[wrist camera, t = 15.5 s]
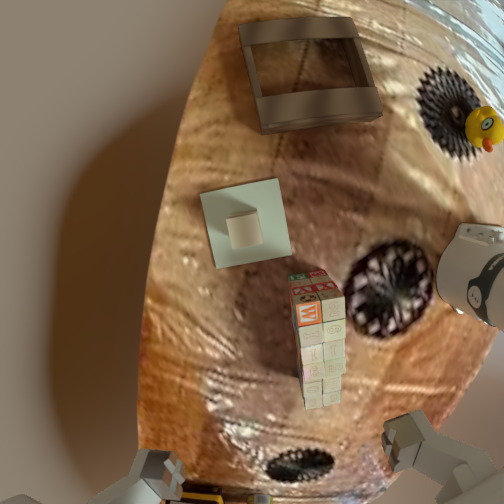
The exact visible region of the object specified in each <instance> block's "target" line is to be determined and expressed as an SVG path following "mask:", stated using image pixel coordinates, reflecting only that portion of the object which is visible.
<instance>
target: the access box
mask: <svg viewBox="0 0 504 504" xmlns="http://www.w3.org/2000/svg"><path fill="white" fill-rule="evenodd" d="M238 30H239V38H240V42H241V46H242V50H243V54H244V59H245V63H246V67H247V71H248V75H249V80H250V84H251V88H252V92H253V97H254V101H255V106H256V110H257V115H258V119H259V124H260V128H261V133H262V135H267V134H272V133H278V132H285V131H291V130H298V129H305V128H312V127H320V126H329V125H338V124H349V123H361V122H371V121H373V120H375V119H377V118H379V117H381V116H383V114H382V112H383V109H382V105H381V101H380V98H379V94H378V91H377V87H375V84H374V81H373V78H372V75H371V71H370V68H369V65H368V62H367V59H366V56H365V54H364V51H363V48H362V45H361V42H360V40H359V38H360V37H359V34H358V32H357V29H356V27H355V24H354V22H353V19H352V18H351V17H302V18H287V19H277V20H268V21H260V22H253V23H246V24H240V25H238ZM323 38H340V39H341V41H342V44H343V47H344V50H345V53H346V56H347V59H348V62H349V65H350V68H351V71H352V74H353V78H354V81H355V85H356V87H355V88H336V89H323V90H313V91H303V92H295V93H287V94H280V95H273V96H267V97H263V96H262V92H261V87H260V83H259V79H258V75H257V71H256V67H255V63H254V59H253V55H252V51H251V47H250V46H252V45H259V44H266V43H274V42H282V41H292V40H304V39H323Z"/></svg>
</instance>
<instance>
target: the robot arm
mask: <svg viewBox="0 0 504 504" xmlns="http://www.w3.org/2000/svg"><path fill="white" fill-rule="evenodd" d="M467 229H468V231H467ZM436 282H437V289H438V292H439V295H440V296H441V298H442V299H443V300H444V301H445V302H447V303H449V304H451V305H452V306H453V308H454V310H455V311H456V312H457V313H459V314H462V313H466V314H468V315H469V316H471V317H473V318H475V319H477V320H483V322H485V323H486V324H489V325H490V326H493V327H497V328H499V329H500V330H502V331H503V332H504V228H503V227H501V226H491V225H480V224H468V223H461V224H460V225H459V227H458V229H457V231H456V234H455V237H454V238H453V240H452V241H451V242H450V244H449V245H448V246H447V247H446V249H445V251H444V252H443V254H442V256H441V259H440V262H439V265H438V269H437V277H436ZM383 428H384V430H385V431H384V432H383V433H382V438H381V440H382V447H383V450H384V453H385V454H386V455H388V456H389V460H388V463H389V465H390V467H391V470H392V472H393V473H396V472H399V471H402V470H405V469H407V468H410V467H413V468H415V469H416V470H417V471H419V472H421V473H423V474H424V475H426V476H427V477H429V478H431V479H432V480H434V481H436V482H437V483H439V484H441V485H443V487H442V488H441V490H440V491H439V493H438V495H437V496H436V498H435V499H436V502H437V504H504V467H502V468H501V469H500V470H497V469H496V467H495V465H494V464H493V462H492V461H491V459H490V458H489V456H488V455H487V453H486V452H485V450H482V449H480V448H477V447H474V446H471V445H468V444H466V443H463V442H461V441H458V440H455V439H453V438H450V437H448V436H445V435H442V434H439V435H437V433H436V432H435V430H434V428H433V427H432V425H431V424H430V422H429V421H428V419H427V417H426V416H425V414H424V413H423V411H422V410H421V409H417V410H415V411H412V412H410V413H406V414H404V415H401V416H398V417H396V418H393V419H390V420H387V421H385V422H384V425H383ZM185 478H186V468H185V465H184V464H183V462H182V461H180V460H178V455H177V453H176V452H175V451H163V450H152V449H140V450H139V451H138V453H137V455H136V457H135V460H134V462H133V465H132V468H131V470H130V473H129V474H128V476H124V477H122V478H121V479H119V480H118V481H117V482H115V483H114V484H113V485H111V486H109V487H108V488H107V489H105V490H103V491H102V492H100V493H99V494H97V495H96V496H94V497H92V498H91V499H89V501H88V503H87V504H158V503H159V502H160V501H161V500H162V499H167V500H179V501H180V500H181V496H182V491H183V488H182V486H181V484H182V483H183V482H184V481H185ZM0 504H42V503H40V502H38V501H36V500H35V499H33V498H31V497H29V496H27V495H24V494H20V495H16V496H14V497H11V498H8V499H6V500H3V501H1V502H0Z"/></svg>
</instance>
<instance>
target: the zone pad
mask: <svg viewBox="0 0 504 504" xmlns="http://www.w3.org/2000/svg"><path fill="white" fill-rule="evenodd" d="M200 197H201V202H202V207H203V211H204V216H205V220H206V225H207V229H208V234H209V238H210V243H211V247H212V251H213V255H214V260H215V264H216V268H217V269H220V268H225V267H231V266H236V265H241V264H247V263H252V262H257V261H263V260H268V259H273V258H279V257H284V256H289V255H292V252H291V246H290V241H289V235H288V229H287V224H286V218H285V213H284V207H283V202H282V197H281V192H280V187H279V181H278V178H276V179H270V180H265V181H260V182H254V183H249V184H244V185H239V186H235V187H230V188H225V189H220V190H216V191H211V192H207V193H203V194H200ZM254 209H257V211H258V216H259V221H260V226H261V231H262V239H263V244H259V245H254V246H248V247H243V248H238V249H233V250H232V245H231V241H230V236H229V231H228V227H227V222H226V219H227V218H228V217H229V216H230V215H231V214H234V213H239V212H244V211H249V210H254Z"/></svg>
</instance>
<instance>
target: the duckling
mask: <svg viewBox="0 0 504 504" xmlns="http://www.w3.org/2000/svg"><path fill="white" fill-rule="evenodd" d="M465 126H466V128H465V133H466V136H467V139H468V140H469V142H470V143H471V144H472V145H473V146H475V147H483V148H484V150H485V151H487V152H492V150H493V149H492V145H497V144H499V143H500V142H502V140H503V139H504V126H503V124H502V121H501V119H500V118H499V117H498V116H497V113H496V111H495V110H494V109H493V108H492V107H490V106H484V107H480V108H477V109H475V110H473V111H472V112H471V113H470V115H469V116H468V117H467V119H466V123H465Z"/></svg>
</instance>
